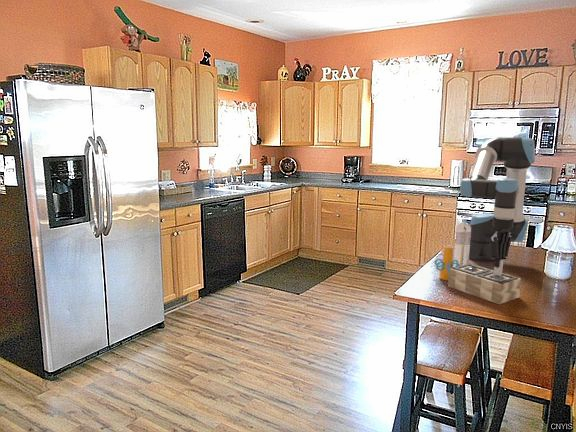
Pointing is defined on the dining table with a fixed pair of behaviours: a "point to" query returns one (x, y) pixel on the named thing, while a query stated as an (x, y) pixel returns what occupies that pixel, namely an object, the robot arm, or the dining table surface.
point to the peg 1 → (471, 269)
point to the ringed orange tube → (446, 263)
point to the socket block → (484, 283)
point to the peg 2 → (497, 277)
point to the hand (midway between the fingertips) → (497, 274)
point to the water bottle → (462, 243)
